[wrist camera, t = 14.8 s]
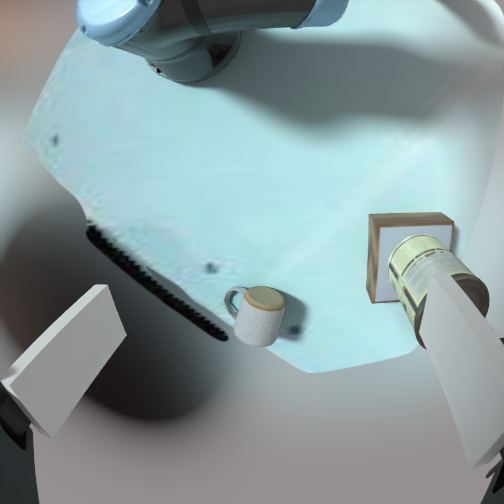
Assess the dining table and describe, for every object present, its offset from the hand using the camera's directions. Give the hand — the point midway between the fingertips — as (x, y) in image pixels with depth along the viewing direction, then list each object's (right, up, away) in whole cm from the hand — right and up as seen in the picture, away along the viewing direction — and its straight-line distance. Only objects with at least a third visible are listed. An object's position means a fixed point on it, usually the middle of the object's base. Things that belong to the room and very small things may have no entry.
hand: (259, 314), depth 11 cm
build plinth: (+25, +3, +33) cm, 41 cm away
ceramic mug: (0, -7, +41) cm, 42 cm away
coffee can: (+24, +1, +28) cm, 37 cm away
